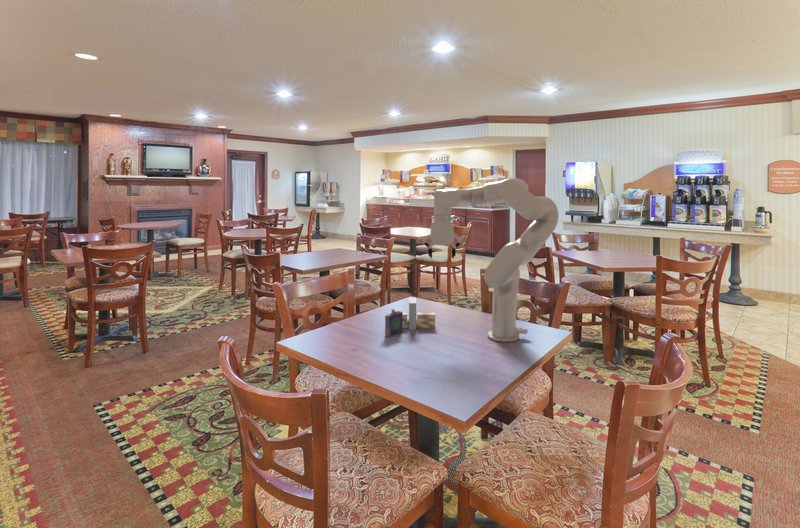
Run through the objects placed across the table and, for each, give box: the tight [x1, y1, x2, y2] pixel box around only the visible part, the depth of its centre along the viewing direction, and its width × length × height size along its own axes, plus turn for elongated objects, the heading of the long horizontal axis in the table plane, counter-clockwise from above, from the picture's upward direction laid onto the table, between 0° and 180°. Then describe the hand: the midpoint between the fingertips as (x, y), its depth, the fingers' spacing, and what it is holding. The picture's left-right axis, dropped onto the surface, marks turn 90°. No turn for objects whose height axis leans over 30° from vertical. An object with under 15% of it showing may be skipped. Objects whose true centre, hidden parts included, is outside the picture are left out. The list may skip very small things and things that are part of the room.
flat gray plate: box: [408, 297, 417, 331], centre depth 195 cm, size 10×3×12 cm, turn 179°
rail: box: [388, 312, 436, 329], centre depth 195 cm, size 20×3×6 cm, turn 90°
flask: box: [384, 308, 403, 338], centre depth 185 cm, size 9×3×11 cm, turn 134°
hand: (441, 257), depth 195 cm, fingers open, 9 cm apart
